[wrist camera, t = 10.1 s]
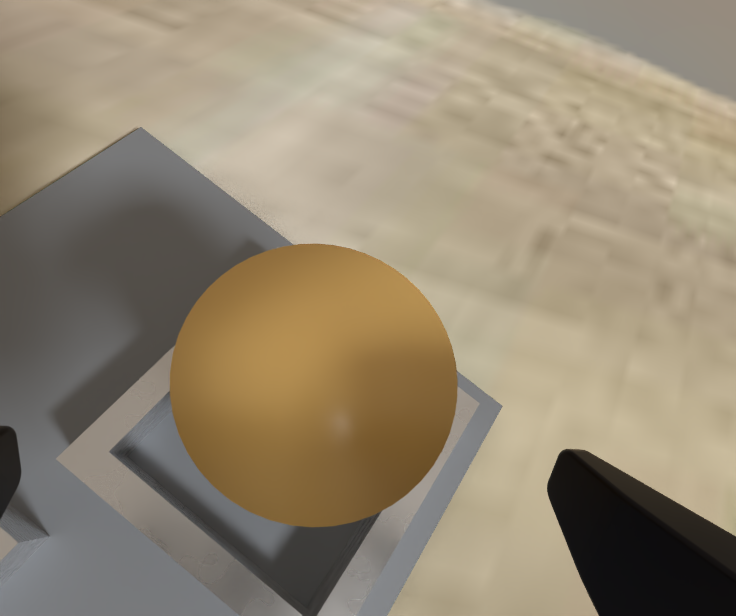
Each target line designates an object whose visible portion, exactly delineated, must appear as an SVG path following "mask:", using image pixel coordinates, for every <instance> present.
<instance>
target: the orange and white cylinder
mask: <svg viewBox="0 0 736 616" xmlns="http://www.w3.org/2000/svg"><path fill="white" fill-rule="evenodd" d="M457 385H458V379H457V370H456V362H455V358H454V354H453V350H452V346H451V343H450V340H449V338H448V335H447V332H446V330H445V328H444V326H443V324H442V322H441V320H440V318H439V316H438V314H437V313H436V311H435V310H434V308H433V307H432V305H431V304H430V302H429V301H428V300H427V299H426V298H425V296H424V295H423V294H422V293H421V292H420V290H419V289H418V288H417V287H415V286H414V285H413V284H412V283H411V282H410V281H409V280H408V279H407V278H406V277H404V276H403V275H402V274H400V273H399V272H398V271H396V270H395V269H394V268H392V267H390V266H389V265H387V264H385V263H384V262H382V261H380V260H378V259H376V258H374V257H372V256H369V255H367V254H365V253H362V252H359V251H356V250H352V249H349V248H345V247H340V246H335V245H325V244H298V245H291V246H284V247H280V248H276V249H272V250H268V251H265V252H263V253H260V254H258V255H255V256H253V257H250V258H248V259H247V260H245V261H243V262H241V263H239V264H237V265H236V266H234V267H233V268H231V269H230V270H228V271H227V272H226V273H224V274H223V275H222V276H220V277H219V278H218V279H217V280H216V281H215V282H214V283H213V284H212V285H211V286H210V287H208V288H207V290H206V291H205V292H204V293H203V294H202V296H201V297H200V298H199V299H198V300H197V302H196V303H195V305H194V306H193V308H192V309H191V311H190V313H189V314H188V316H187V317H186V319H185V322H184V324H183V326H182V328H181V330H180V333H179V335H178V338H177V341H176V345H175V348H174V351H173V356H172V362H171V369H170V399H171V406H172V413H173V417H174V420H175V423H176V427H177V430H178V433H179V436H180V438H181V440H182V442H183V444H184V446H185V449H186V451H187V453H188V454H189V456H190V457H191V459H192V460H193V462H194V463H195V465H196V467H197V468H198V470H199V471H200V472H201V473H202V474H203V475H204V477H205V478H206V479H207V480H208V481H209V482H210V483H211V484H212V485H213V486H214V487H215V488H216V489H217V490H218V491H219V492H221V493H222V494H223V495H224V496H226V497H227V498H228V499H229V500H230V501H232V502H234V503H235V504H237V505H239V506H240V507H242V508H244V509H245V510H247V511H249V512H251V513H253V514H256V515H258V516H261V517H263V518H266V519H268V520H271V521H275V522H279V523H283V524H287V525H293V526H303V527H328V526H337V525H342V524H347V523H352V522H356V521H358V520H361V519H364V518H367V517H370V516H372V515H375V514H377V513H379V512H380V511H382V510H384V509H386V508H388V507H390V506H392V505H393V504H395V503H396V502H397V501H399V500H400V499H401V498H403V497H404V496H406V495H407V494H408V493H409V492H410V491H411V490H412V489H413V488H414V487H415V486H416V485H417V484H419V483H420V482H421V481H422V479H423V478H424V477H425V476H426V474H427V473H428V472H429V471H430V469H431V468H432V467H433V465H434V464H435V462H436V460H437V459H438V457H439V455H440V454H441V452H442V450H443V448H444V446H445V443H446V441H447V439H448V436H449V434H450V431H451V427H452V424H453V420H454V416H455V411H456V404H457Z"/></svg>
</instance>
